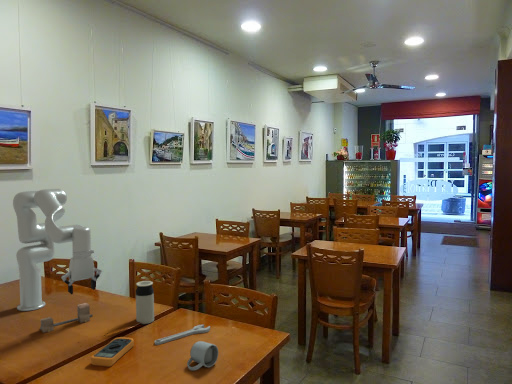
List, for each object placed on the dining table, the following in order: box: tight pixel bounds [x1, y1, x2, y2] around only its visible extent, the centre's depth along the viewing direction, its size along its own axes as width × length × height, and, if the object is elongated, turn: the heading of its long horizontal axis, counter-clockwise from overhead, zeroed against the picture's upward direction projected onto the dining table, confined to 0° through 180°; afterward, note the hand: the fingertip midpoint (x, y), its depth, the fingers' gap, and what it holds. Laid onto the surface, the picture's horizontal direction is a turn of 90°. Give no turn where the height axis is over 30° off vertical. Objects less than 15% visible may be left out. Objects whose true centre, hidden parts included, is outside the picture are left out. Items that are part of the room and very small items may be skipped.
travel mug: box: [135, 280, 155, 325], centre depth 178 cm, size 8×8×18 cm
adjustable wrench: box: [154, 324, 211, 346], centre depth 163 cm, size 25×6×2 cm, turn 124°
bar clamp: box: [39, 313, 93, 334], centre depth 172 cm, size 6×22×5 cm, turn 133°
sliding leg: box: [76, 302, 91, 324], centre depth 176 cm, size 5×4×7 cm
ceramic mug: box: [186, 340, 219, 372], centre depth 138 cm, size 11×8×8 cm
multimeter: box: [90, 336, 135, 368], centre depth 146 cm, size 9×18×3 cm, turn 169°
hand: (82, 291), depth 176 cm, fingers open, 9 cm apart
